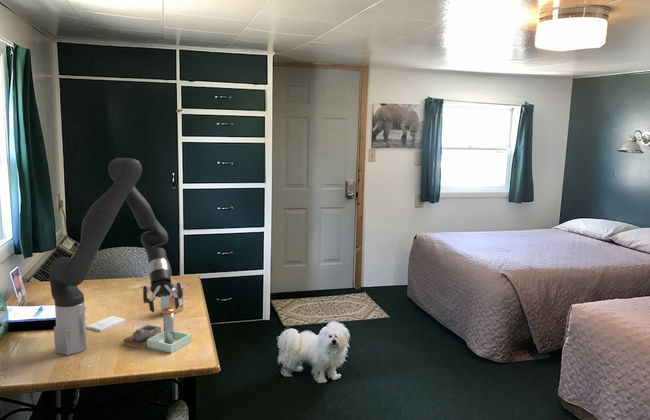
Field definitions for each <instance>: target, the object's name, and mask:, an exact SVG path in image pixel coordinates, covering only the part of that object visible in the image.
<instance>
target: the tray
mask: <svg viewBox="0 0 650 420" xmlns="http://www.w3.org/2000/svg"><path fill="white" fill-rule="evenodd" d="M162 331H163V332H161V333H159V334H157V335H155V336H153V337H151V338H149V339H148V340H147V347H146V348H147V349H150V350H151V349H152V350H155V351H160V352H164V353H167V354H173V353H174V352H176V351H178V350H180V349H182V348H183V347H186V346H187V345H188V344H190V343H192V334H191V333H186V332H182V331H178V330H174V343H173V344H167V343H164V330H162Z"/></svg>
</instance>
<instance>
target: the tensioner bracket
mask: <svg viewBox="0 0 650 420" xmlns="http://www.w3.org/2000/svg"><path fill="white" fill-rule="evenodd" d="M163 331H164V330H162V327H161V326H159V325H153V324H146V325H143V326H142V327H138V329H135V331H134V332H133V334H132V335H130V336H128V337H126V338H123V345H124V346H129V347H133V348H136V349H140V350H144V349H146V348H147V340H148V339H149V338H151V337H153V336H155V335H157V334H159V333H161V332H163Z"/></svg>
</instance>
